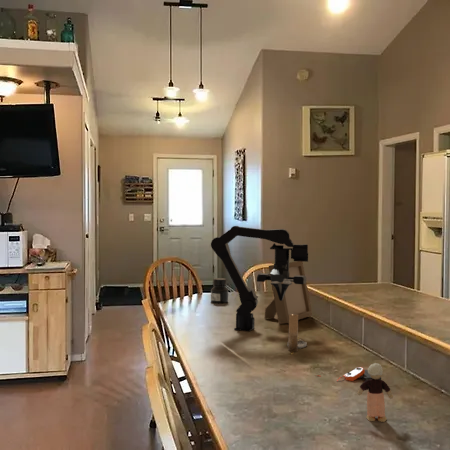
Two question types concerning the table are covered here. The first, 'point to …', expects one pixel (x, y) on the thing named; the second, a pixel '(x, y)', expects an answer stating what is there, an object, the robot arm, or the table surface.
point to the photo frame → (290, 298)
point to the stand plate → (298, 340)
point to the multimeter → (357, 375)
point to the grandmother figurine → (375, 393)
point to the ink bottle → (219, 291)
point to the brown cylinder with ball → (294, 334)
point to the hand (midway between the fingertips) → (281, 300)
